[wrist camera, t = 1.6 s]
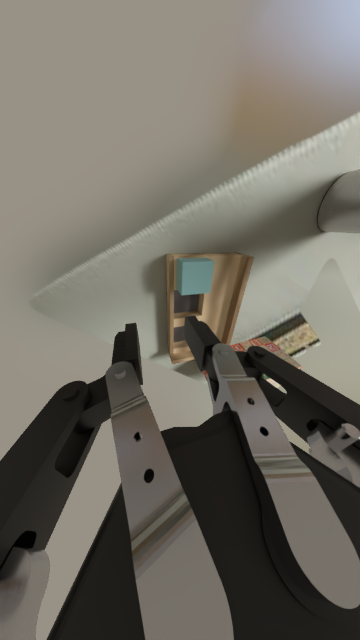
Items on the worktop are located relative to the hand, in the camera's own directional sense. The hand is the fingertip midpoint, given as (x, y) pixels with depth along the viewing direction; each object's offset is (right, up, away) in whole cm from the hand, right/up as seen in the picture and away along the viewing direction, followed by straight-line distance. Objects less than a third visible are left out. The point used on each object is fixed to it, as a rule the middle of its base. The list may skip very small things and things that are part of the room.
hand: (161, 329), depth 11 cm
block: (+3, +9, +14) cm, 17 cm away
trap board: (+5, +3, +21) cm, 22 cm away
